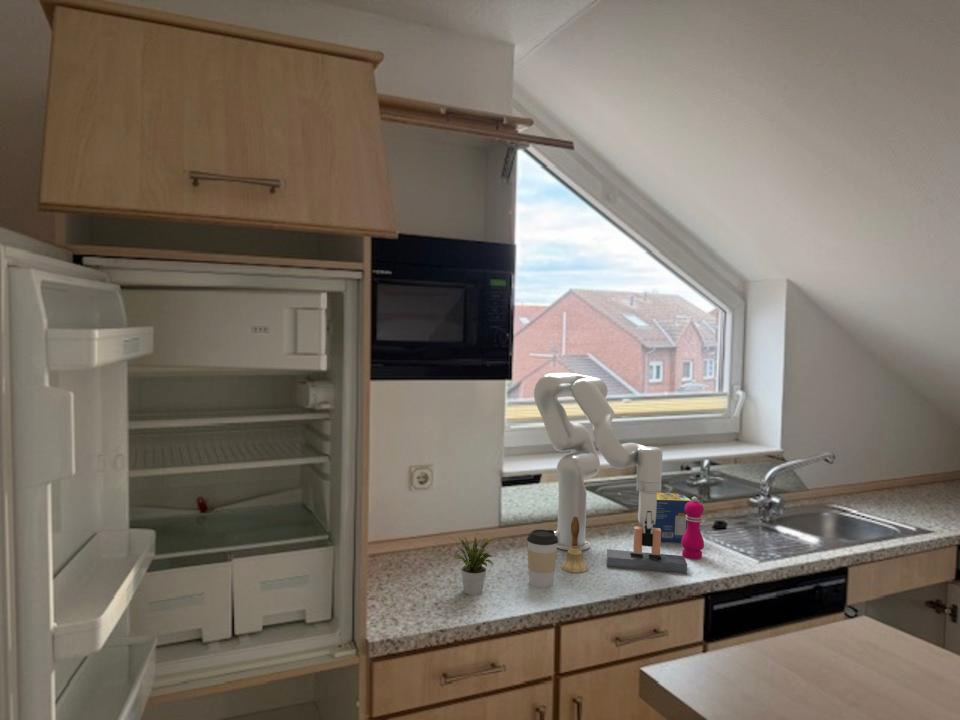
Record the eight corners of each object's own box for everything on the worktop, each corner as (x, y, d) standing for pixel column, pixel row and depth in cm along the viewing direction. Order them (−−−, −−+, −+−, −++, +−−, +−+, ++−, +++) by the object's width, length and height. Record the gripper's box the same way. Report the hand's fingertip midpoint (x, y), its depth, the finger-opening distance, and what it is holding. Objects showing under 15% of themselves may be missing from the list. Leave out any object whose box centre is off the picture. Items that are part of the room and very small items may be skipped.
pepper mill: (704, 560, 212) (707, 500, 212) (681, 558, 214) (684, 498, 213) (702, 553, 219) (704, 495, 219) (679, 551, 221) (682, 493, 220)
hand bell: (563, 573, 197) (565, 520, 197) (558, 563, 206) (560, 513, 205) (590, 573, 198) (592, 521, 197) (584, 563, 206) (586, 513, 206)
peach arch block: (633, 552, 205) (634, 529, 204) (633, 549, 208) (634, 526, 208) (660, 554, 203) (661, 531, 203) (659, 551, 206) (660, 528, 206)
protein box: (639, 533, 241) (641, 492, 240) (680, 534, 241) (682, 493, 241) (647, 542, 230) (649, 499, 230) (691, 543, 231) (692, 500, 230)
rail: (607, 566, 204) (607, 557, 204) (606, 558, 212) (607, 549, 212) (686, 574, 200) (687, 564, 200) (683, 565, 207) (683, 556, 207)
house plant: (441, 601, 173) (443, 540, 173) (444, 581, 187) (445, 525, 186) (495, 602, 173) (497, 542, 173) (493, 583, 187) (495, 526, 187)
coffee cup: (534, 590, 183) (536, 537, 182) (520, 579, 191) (521, 528, 190) (562, 586, 186) (564, 534, 186) (547, 575, 195) (548, 525, 194)
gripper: (635, 480, 214) (633, 535, 214) (638, 491, 197) (635, 551, 198) (658, 481, 212) (656, 537, 213) (663, 492, 196) (661, 553, 197)
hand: (646, 543), depth 205 cm, fingers closed on peach arch block, 3 cm apart
